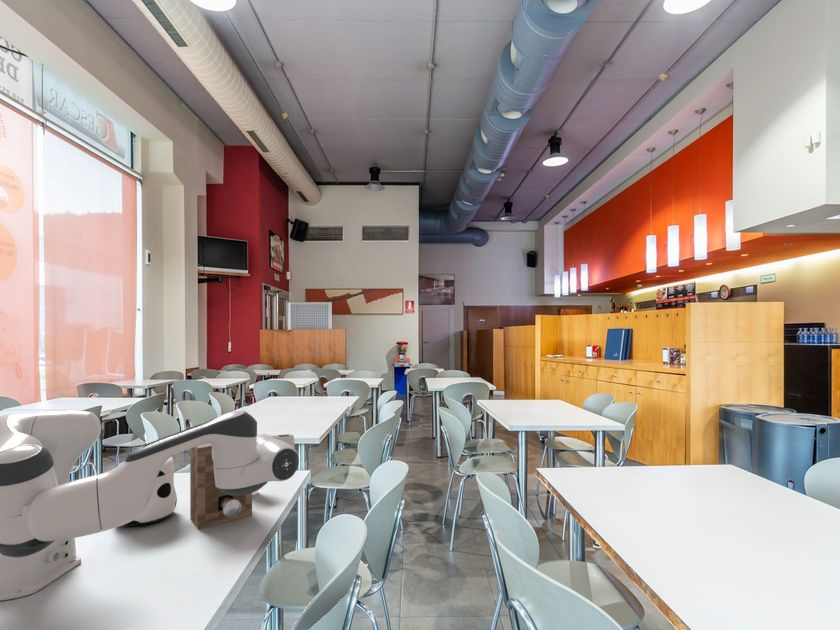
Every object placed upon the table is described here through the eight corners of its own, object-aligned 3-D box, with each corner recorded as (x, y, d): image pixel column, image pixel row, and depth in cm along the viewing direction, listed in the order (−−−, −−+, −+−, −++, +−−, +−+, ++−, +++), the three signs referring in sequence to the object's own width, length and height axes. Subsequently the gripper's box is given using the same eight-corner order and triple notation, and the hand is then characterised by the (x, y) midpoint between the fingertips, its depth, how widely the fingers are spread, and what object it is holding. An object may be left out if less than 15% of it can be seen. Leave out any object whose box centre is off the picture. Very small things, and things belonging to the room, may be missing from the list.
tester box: (252, 515, 148) (251, 439, 149) (198, 529, 138) (197, 448, 139) (242, 506, 156) (241, 434, 157) (190, 519, 146) (190, 442, 147)
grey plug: (241, 515, 139) (241, 498, 140) (223, 520, 136) (223, 502, 136) (233, 507, 146) (233, 490, 146) (215, 511, 143) (215, 494, 143)
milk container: (172, 504, 159) (172, 451, 160) (181, 520, 145) (181, 462, 146) (111, 517, 149) (112, 460, 149) (115, 536, 135) (115, 473, 135)
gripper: (219, 473, 112) (205, 462, 122) (299, 457, 124) (280, 448, 135) (219, 446, 112) (204, 438, 123) (299, 433, 125) (279, 427, 135)
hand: (244, 443), depth 129 cm, fingers open, 8 cm apart
